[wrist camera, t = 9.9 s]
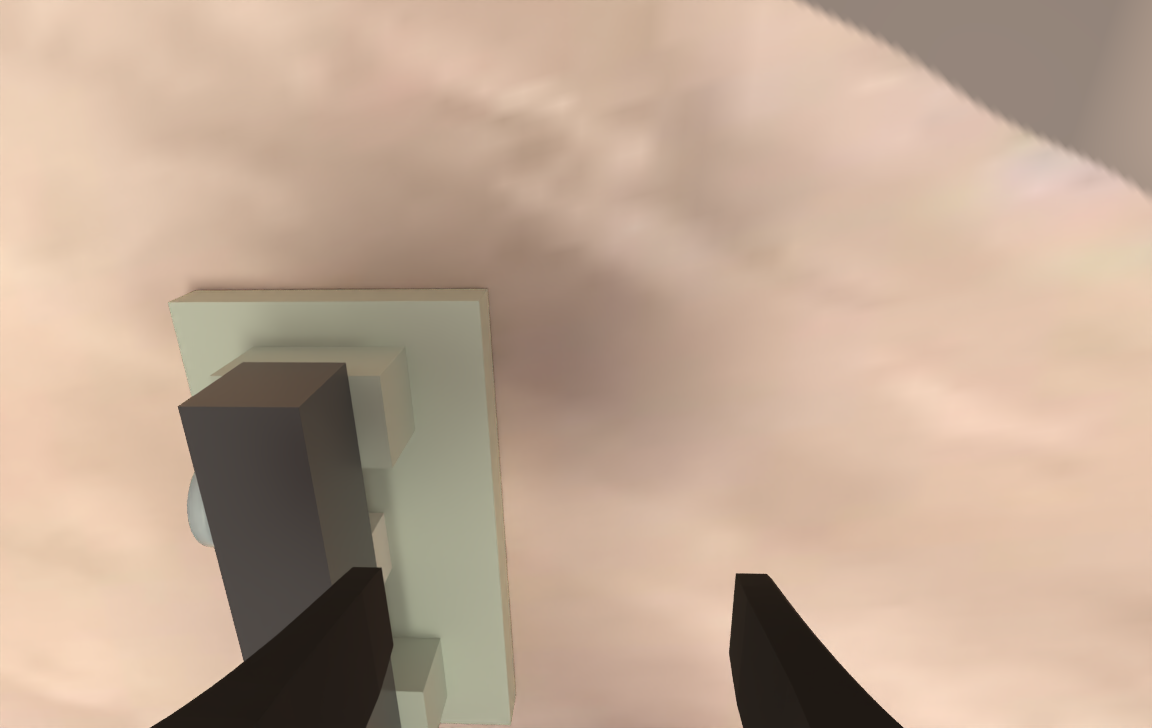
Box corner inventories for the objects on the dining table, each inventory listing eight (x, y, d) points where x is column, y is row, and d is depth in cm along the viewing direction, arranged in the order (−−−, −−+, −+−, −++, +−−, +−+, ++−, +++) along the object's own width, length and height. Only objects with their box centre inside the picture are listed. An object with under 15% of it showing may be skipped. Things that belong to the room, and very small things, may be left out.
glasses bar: (407, 763, 24) (380, 848, 21) (312, 760, 24) (274, 843, 22) (345, 362, 18) (298, 407, 16) (222, 361, 19) (154, 405, 16)
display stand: (515, 694, 28) (501, 783, 24) (289, 688, 29) (241, 775, 25) (487, 288, 22) (462, 325, 18) (195, 290, 22) (112, 326, 18)
